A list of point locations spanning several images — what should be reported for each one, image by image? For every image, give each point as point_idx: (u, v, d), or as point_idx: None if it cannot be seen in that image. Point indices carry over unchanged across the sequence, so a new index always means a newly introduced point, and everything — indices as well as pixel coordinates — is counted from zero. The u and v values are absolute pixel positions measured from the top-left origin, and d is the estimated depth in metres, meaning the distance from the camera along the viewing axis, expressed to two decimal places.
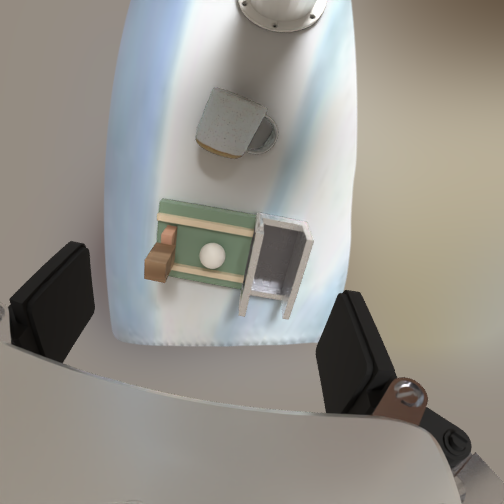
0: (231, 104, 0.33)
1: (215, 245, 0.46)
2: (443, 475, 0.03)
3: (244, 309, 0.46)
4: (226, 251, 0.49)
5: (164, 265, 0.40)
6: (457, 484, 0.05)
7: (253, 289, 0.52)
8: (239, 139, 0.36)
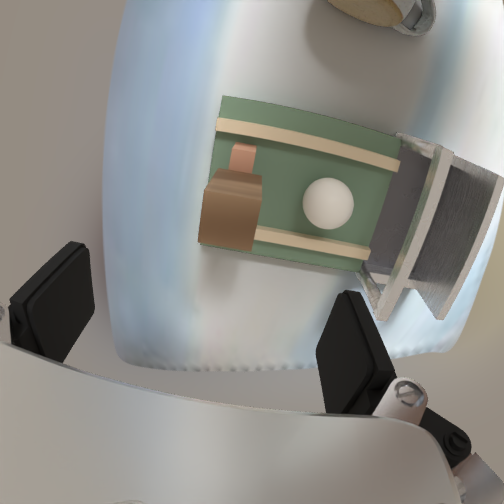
0: None
1: (338, 181, 0.22)
2: (443, 475, 0.03)
3: (390, 307, 0.22)
4: None
5: (257, 204, 0.16)
6: (457, 484, 0.05)
7: (379, 272, 0.28)
8: None
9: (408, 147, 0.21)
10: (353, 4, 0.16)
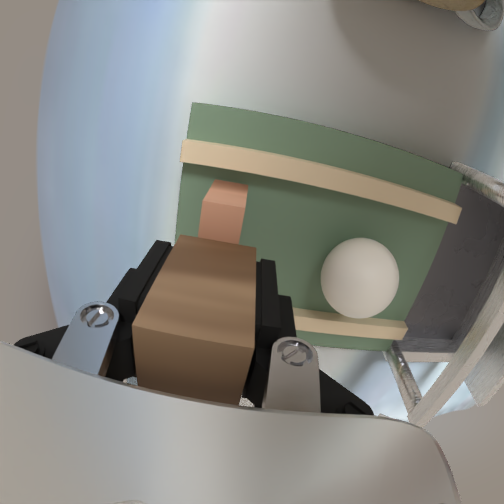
0: None
1: (379, 246, 0.14)
2: (443, 475, 0.03)
3: (431, 414, 0.13)
4: None
5: (245, 353, 0.07)
6: None
7: (412, 348, 0.19)
8: None
9: (476, 188, 0.13)
10: None
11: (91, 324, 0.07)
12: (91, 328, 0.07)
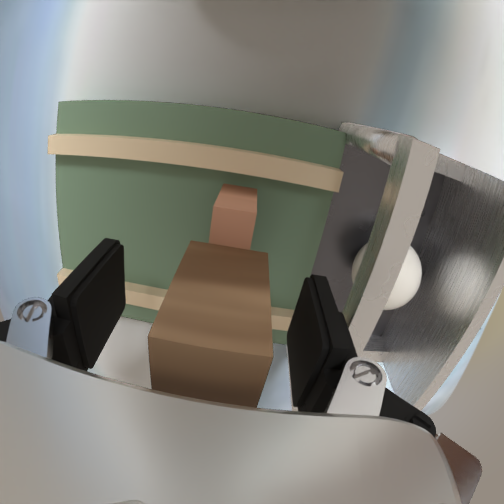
0: None
1: None
2: (443, 475, 0.03)
3: None
4: None
5: (264, 362, 0.07)
6: None
7: None
8: None
9: (355, 146, 0.12)
10: None
11: (28, 320, 0.06)
12: (30, 323, 0.06)
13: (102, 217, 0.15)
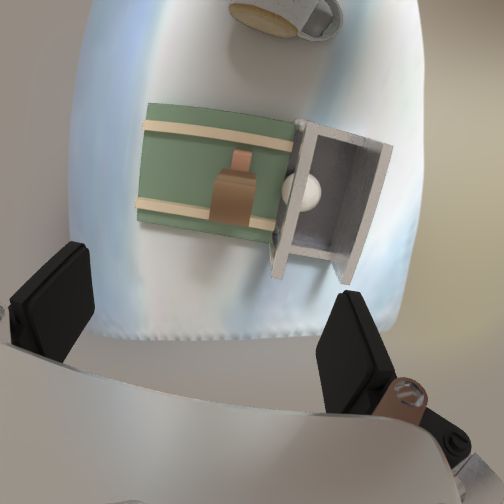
0: None
1: None
2: (443, 475, 0.03)
3: (282, 266, 0.28)
4: None
5: (252, 191, 0.22)
6: (457, 484, 0.05)
7: None
8: (298, 0, 0.19)
9: (298, 129, 0.27)
10: (258, 23, 0.22)
11: None
12: None
13: (169, 165, 0.30)
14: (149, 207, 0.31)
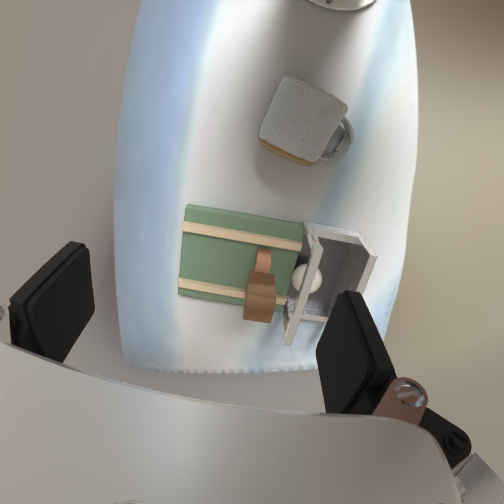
0: (313, 97, 0.26)
1: None
2: (443, 475, 0.03)
3: (291, 337, 0.38)
4: None
5: (274, 303, 0.32)
6: (457, 484, 0.05)
7: None
8: (318, 142, 0.29)
9: None
10: None
11: None
12: None
13: (205, 257, 0.40)
14: (189, 287, 0.41)
